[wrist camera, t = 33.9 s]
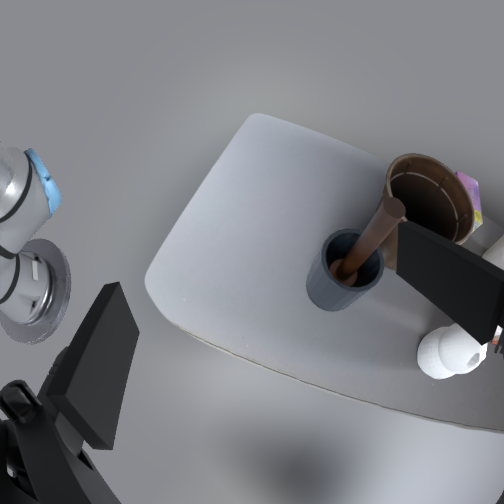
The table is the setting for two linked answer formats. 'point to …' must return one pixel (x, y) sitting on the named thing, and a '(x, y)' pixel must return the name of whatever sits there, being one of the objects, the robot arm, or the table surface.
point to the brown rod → (368, 240)
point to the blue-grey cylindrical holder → (330, 289)
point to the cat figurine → (449, 352)
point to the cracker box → (495, 339)
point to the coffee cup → (496, 253)
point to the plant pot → (427, 201)
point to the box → (472, 196)
